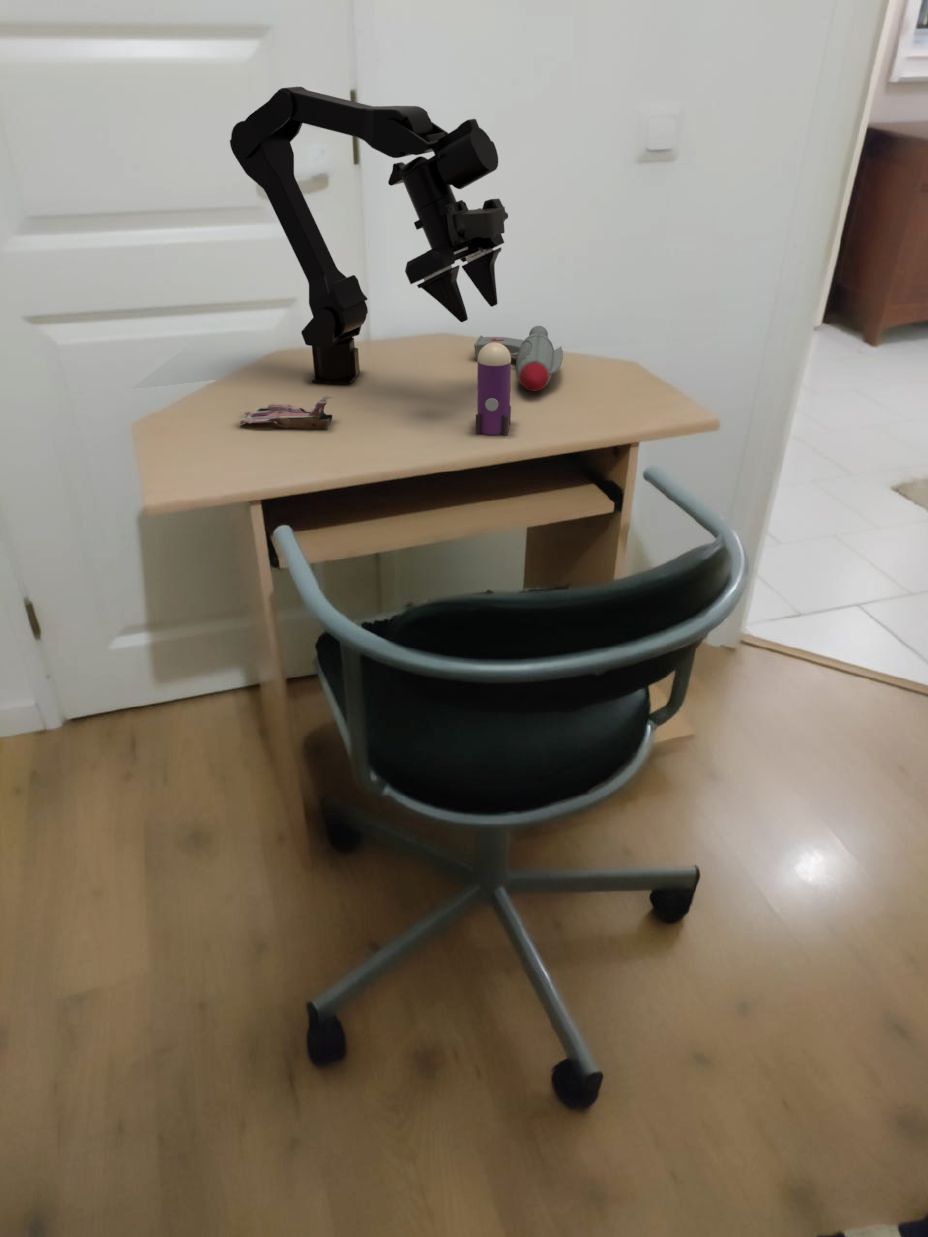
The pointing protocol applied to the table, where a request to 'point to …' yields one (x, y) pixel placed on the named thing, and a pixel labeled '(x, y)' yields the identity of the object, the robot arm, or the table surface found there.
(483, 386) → the toy rocket
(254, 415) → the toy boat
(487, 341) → the toy ray gun
